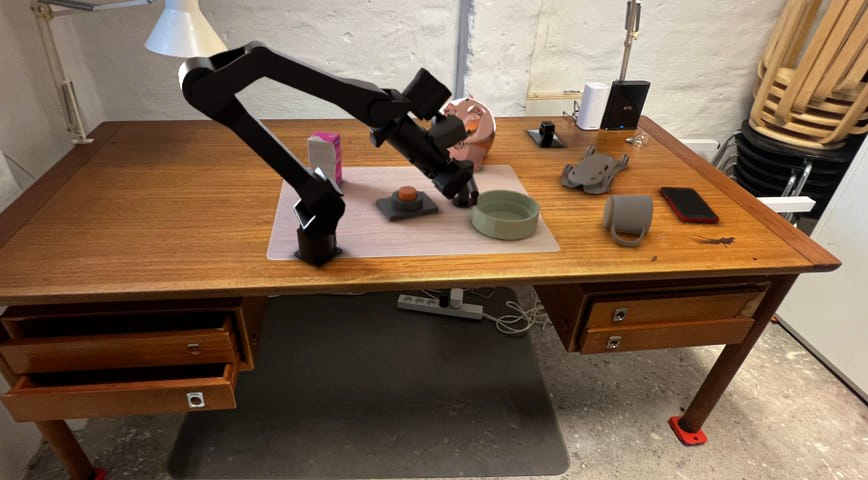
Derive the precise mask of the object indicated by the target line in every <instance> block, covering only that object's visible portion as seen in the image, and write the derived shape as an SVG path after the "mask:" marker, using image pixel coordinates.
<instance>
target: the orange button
mask: <svg viewBox="0 0 868 480" xmlns="http://www.w3.org/2000/svg"><path fill="white" fill-rule="evenodd" d="M398 190H399V199H401V200H406V201H409V200H414V199H415V198H416V190H417V189H416V187H414V186H411V185H404V186H401V187H399V188H398Z"/></svg>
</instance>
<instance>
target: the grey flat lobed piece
mask: <svg viewBox="0 0 868 480" xmlns="http://www.w3.org/2000/svg"><path fill="white" fill-rule="evenodd" d="M629 161H630V155H629V154H628V153H623V154H622V155H621V157H620V159H619V160H617V159H616V158H615V157H613V156H611V155H610V154H606V153H596V146H594V145H589V146H587V148H586V150H585V153H584V158H582V159H581V160H580V161H578V162H577V163H576V164H575V165H572V164H570V163H566V164H565V165H564V167H563V168H562V172H561V184H562V186H564V187H566V188H569V189H572V190H573V189H582V191H584V193H585V194H590V195H601V194H604V193H606V192H607V193H608V192H609V191H610V190H611V188H612V186H613V182H614V178H615V176H616V174H617V173H619V172H620V171H622V170H625V169H626V168H627V166H628V163H629Z"/></svg>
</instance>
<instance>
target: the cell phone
mask: <svg viewBox="0 0 868 480" xmlns="http://www.w3.org/2000/svg"><path fill="white" fill-rule="evenodd" d="M659 192H660V193H661V194H662V195H663V197H664V198H665V199H666V201H667V202H668V204H669V205H670V206H671V208H672V209H673V210H674V212H675V214H677V216H678V217H679V218H680V220H681V221H683V222H686V223H707V224H718V223H719V221H720V217H719V215H717V214H716V212H715V211H714V209H712V208H711V206H710V205H709V204H708V203H707V202H706V200H704V199H703V198H702V197H701V195H700V194H699V193H698V192H697V190H695V189H694V188H692V187H681V186H680V187H677V186H661V187H660V190H659Z"/></svg>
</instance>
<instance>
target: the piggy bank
mask: <svg viewBox="0 0 868 480" xmlns="http://www.w3.org/2000/svg"><path fill="white" fill-rule="evenodd" d="M468 97H469V98H468ZM468 97H465V98H464V97H463V98H458V99H455V100H452V101H451V102H450V101H449V102H448V103H447V102H446V103H445V104H444V105H443V106H442V107H441V109H440V110H439V111H440V112H441V113H442V114H444V115H445V116H448V115H447V114H448V113H449V114H451V115H455V116H457V117H458V118H460V119H461V120H462V121H463V123H464V126H465V128H466V131H467V134H468V137H467V139H465V140H464V141H460V142H459V143H457V144H456V145H454V146H452V147H451V148H447V149H448V150H449V151H450V152H451V153H450V158H451V159H452V157H454V158H455V159H456V160H459V161H461V160H470V161H472V162H474V170H473V172H479V171H481V170H482V163H483V160H484V159H485V157H486V156H487V154H489V152H490V150H491V149H492V147H493V145H494V142H495V138H496V131H497V129H496V127H497V126H496V121H495V118H494V115H493V114H492V111H491V110H490V109H489V108H488V106H486V105H485V104H483V102H481V101H479V100H476V99H474V97H473V95H472V94H471V93H469V94H468Z"/></svg>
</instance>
